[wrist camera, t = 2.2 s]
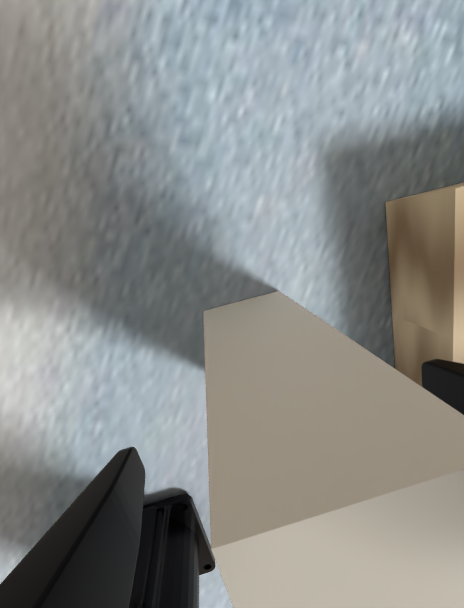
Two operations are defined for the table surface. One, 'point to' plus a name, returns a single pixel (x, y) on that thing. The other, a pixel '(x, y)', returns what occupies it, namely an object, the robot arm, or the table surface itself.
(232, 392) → the plug
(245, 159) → the table surface
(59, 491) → the table surface
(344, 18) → the table surface
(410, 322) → the socket board
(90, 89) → the table surface
